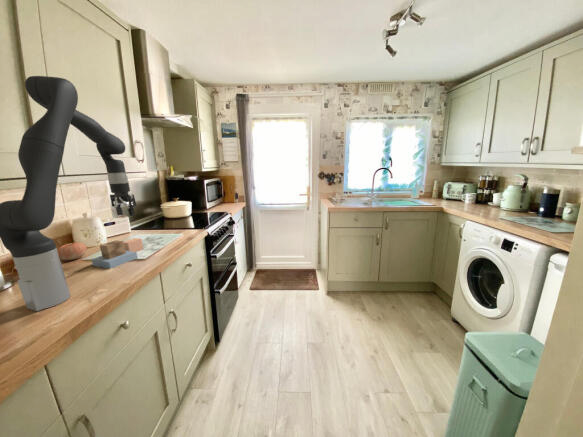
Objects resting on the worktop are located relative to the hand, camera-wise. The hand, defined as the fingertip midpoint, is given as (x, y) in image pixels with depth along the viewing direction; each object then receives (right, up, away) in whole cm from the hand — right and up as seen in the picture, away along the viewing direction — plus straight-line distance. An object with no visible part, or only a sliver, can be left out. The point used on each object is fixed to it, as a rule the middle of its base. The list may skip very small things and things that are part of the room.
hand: (126, 215), depth 114 cm
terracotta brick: (+1, -19, +4) cm, 19 cm away
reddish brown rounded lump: (-24, -21, -2) cm, 32 cm away
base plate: (+1, -21, -8) cm, 23 cm away
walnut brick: (+1, -19, -9) cm, 21 cm away
